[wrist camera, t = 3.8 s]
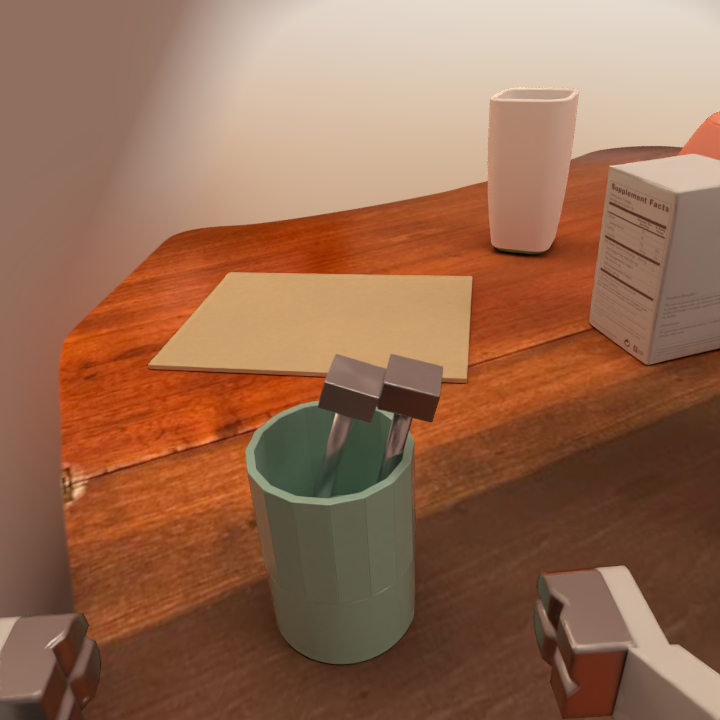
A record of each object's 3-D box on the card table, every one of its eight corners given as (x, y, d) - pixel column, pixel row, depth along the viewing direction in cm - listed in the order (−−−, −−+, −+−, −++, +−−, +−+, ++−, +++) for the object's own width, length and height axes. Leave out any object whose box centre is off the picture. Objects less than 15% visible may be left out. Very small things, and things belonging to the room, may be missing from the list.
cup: (552, 262, 62) (568, 100, 55) (479, 254, 65) (485, 99, 58) (564, 238, 68) (581, 87, 60) (497, 231, 71) (505, 87, 63)
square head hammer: (280, 548, 27) (324, 381, 22) (292, 515, 29) (335, 352, 24) (325, 562, 27) (379, 398, 22) (335, 528, 29) (387, 368, 24)
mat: (148, 369, 49) (147, 364, 49) (229, 275, 64) (228, 272, 64) (466, 383, 45) (466, 378, 44) (472, 280, 60) (472, 276, 60)
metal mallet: (342, 555, 26) (383, 382, 22) (350, 521, 28) (390, 352, 23) (388, 568, 26) (440, 396, 22) (394, 532, 28) (443, 365, 23)
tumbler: (256, 654, 27) (221, 496, 23) (295, 541, 33) (273, 395, 28) (407, 674, 26) (403, 511, 22) (421, 552, 32) (420, 402, 27)
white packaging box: (663, 307, 53) (695, 151, 46) (732, 349, 47) (779, 174, 40) (584, 323, 51) (606, 163, 45) (644, 368, 45) (679, 189, 39)
